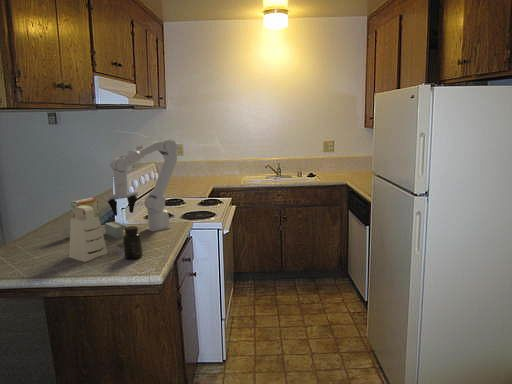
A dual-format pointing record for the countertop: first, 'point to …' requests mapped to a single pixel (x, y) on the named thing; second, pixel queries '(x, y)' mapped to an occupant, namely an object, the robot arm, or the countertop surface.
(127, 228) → the supplement bottle
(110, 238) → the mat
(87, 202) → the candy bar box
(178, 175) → the countertop surface
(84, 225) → the grater
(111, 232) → the block
